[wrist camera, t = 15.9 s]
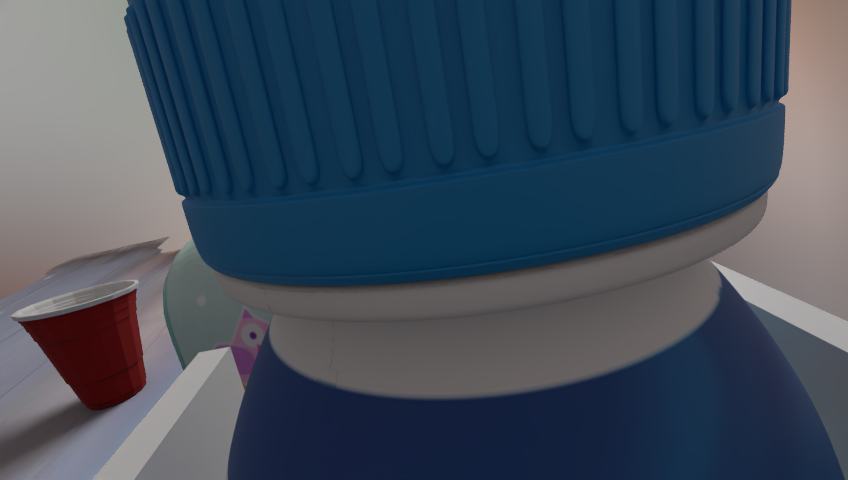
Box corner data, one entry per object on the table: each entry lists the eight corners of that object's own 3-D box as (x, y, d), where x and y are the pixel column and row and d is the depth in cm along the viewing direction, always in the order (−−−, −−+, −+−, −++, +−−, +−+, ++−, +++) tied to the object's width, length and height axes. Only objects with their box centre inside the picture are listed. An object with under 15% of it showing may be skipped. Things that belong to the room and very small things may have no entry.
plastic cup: (189, 358, 54) (157, 266, 51) (138, 415, 44) (92, 305, 41) (103, 373, 55) (65, 283, 51) (31, 433, 44) (-22, 325, 41)
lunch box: (424, 624, 21) (319, 191, 16) (239, 606, 24) (90, 225, 18) (473, 341, 46) (440, 134, 41) (380, 346, 49) (336, 151, 43)
